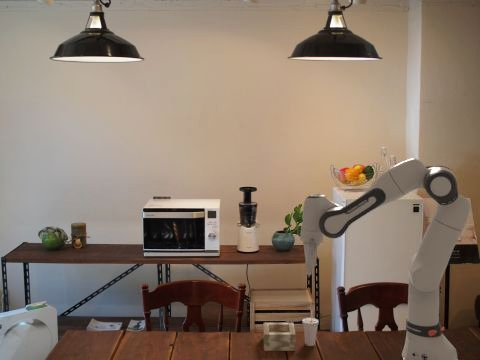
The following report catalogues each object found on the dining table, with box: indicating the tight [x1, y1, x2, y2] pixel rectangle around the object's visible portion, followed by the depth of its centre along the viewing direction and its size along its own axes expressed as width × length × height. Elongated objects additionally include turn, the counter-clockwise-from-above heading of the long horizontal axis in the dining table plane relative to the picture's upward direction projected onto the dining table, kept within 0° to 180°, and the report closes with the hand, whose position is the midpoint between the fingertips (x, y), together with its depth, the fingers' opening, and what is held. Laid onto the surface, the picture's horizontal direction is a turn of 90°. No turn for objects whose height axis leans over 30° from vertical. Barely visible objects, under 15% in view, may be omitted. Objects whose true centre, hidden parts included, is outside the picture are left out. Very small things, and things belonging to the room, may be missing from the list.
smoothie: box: [301, 309, 319, 347], centre depth 245 cm, size 6×6×14 cm
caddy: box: [262, 322, 296, 352], centre depth 246 cm, size 12×12×6 cm
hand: (308, 270), depth 242 cm, fingers open, 8 cm apart
